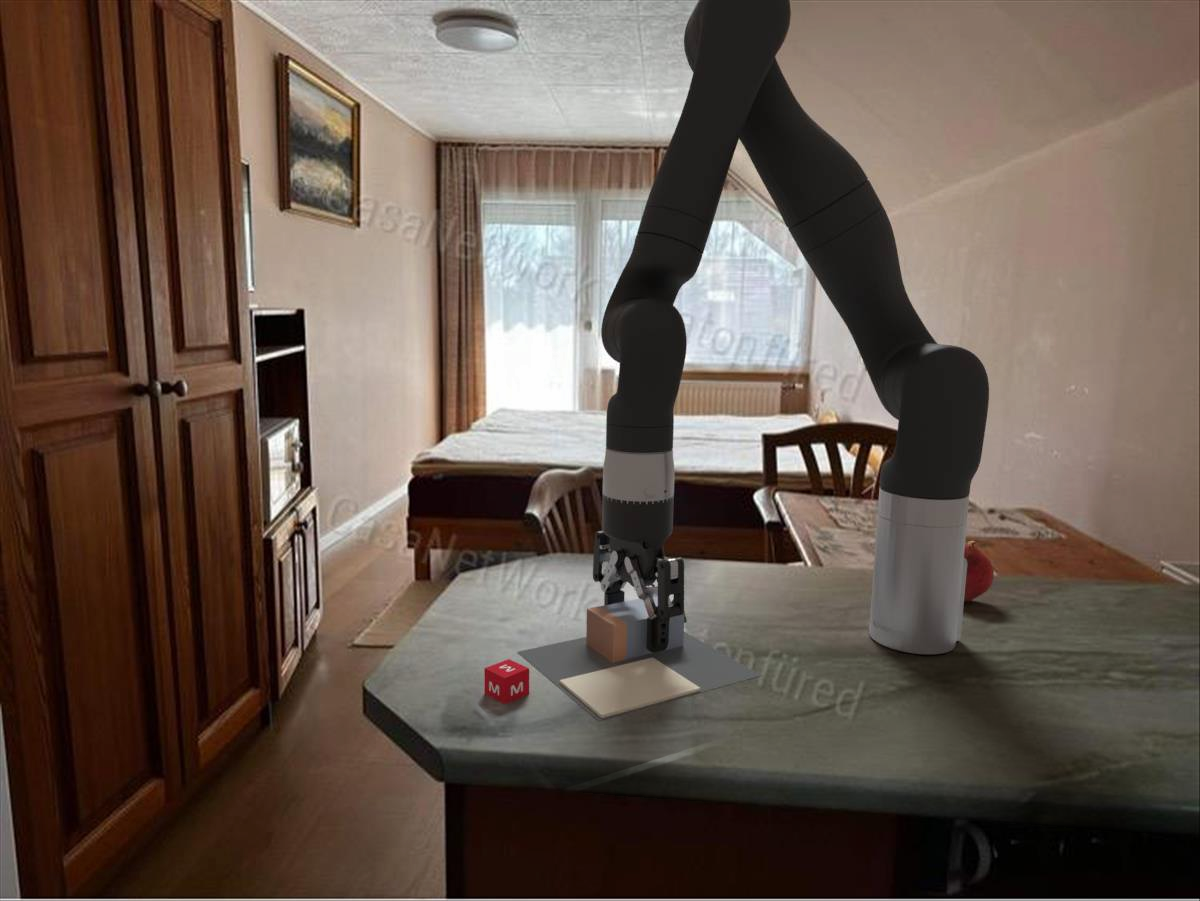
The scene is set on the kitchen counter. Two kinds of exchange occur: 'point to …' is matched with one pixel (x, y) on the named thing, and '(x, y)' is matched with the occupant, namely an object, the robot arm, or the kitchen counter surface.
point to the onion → (977, 572)
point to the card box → (626, 630)
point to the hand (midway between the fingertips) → (634, 636)
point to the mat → (634, 675)
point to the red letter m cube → (506, 681)
